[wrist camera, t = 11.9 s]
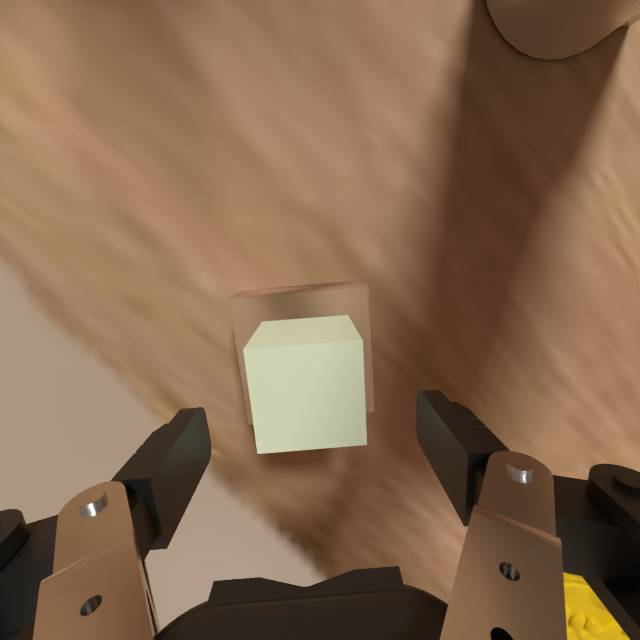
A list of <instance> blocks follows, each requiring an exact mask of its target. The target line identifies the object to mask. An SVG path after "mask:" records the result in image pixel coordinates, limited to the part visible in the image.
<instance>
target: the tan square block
mask: <svg viewBox="0 0 640 640" xmlns="http://www.w3.org/2000/svg"><path fill="white" fill-rule="evenodd" d="M228 301H229V307H230V313H231V320H232V326H233V332H234V338H235V344H236V350H237V357H238V363H239V369H240V375H241V381H242V387H243V394H244V400H245V406H246V412H247V418H248V424H249V425H252V424H253V418H252V411H251V403H250V396H249V389H248V382H247V374H246V367H245V360H244V353H243V349H244V348H245V346H246V345H247V343H248V342H249V340H250V339H251V337H252V336H253V334H254V333H255V331H256V330H257V328H258V327H259V325H260V324H261V322H263V321H276V320H289V319H302V318H315V317H328V316H341V315H348V316H349V318H350V319H351V321H352V323H353V324H354V326H355V328H356V329H357V331H358V333H359V335H360V336H361V338H362V340H363V356H364V381H365V406H366V413H373V412H375V406H374V387H373V367H372V348H371V328H370V309H369V289H368V286H367V285H365V284H363V283H362V282H360V281H358V280H355V281H345V282H334V283H323V284H312V285H301V286H291V287H280V288H269V289H258V290H248V291H242V292H240V293H238V294H237V295H235V296H233V297H232V298H230V299H228Z"/></svg>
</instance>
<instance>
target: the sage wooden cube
mask: <svg viewBox="0 0 640 640" xmlns="http://www.w3.org/2000/svg"><path fill="white" fill-rule="evenodd" d="M243 353H244V360H245V367H246V374H247V382H248V389H249V396H250V403H251V411H252V418H253V425H254V432H255V439H256V447H257V454H264V453H276V452H288V451H300V450H312V449H324V448H335V447H347V446H359V445H367V431H366V406H365V381H364V356H363V340H362V338H361V336H360V335H359V333H358V331H357V329H356V328H355V326H354V324H353V323H352V321H351V319H350V318H349V316H348V315H341V316H328V317H315V318H302V319H289V320H276V321H263V322H261V324H260V325H259V327H258V328H257V330H256V331H255V333H254V334H253V336H252V337H251V339H250V340H249V342H248V343H247V345H246V346H245V348H244V349H243Z"/></svg>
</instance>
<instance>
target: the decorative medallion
mask: <svg viewBox="0 0 640 640" xmlns="http://www.w3.org/2000/svg"><path fill="white" fill-rule="evenodd" d="M563 578H564V594H565V610H566V627H567V640H630V639H629V637H628V636H627V635H626V634H625V632H624V631H623V630H622V628H621V627H620V626H619V624H618V623H617V622H616V620H615V619H614V618H613V617H612V615H611V614H610V613H609V611H608V610H607V609H606V607H605V606H604V605H603V603H602V602H601V601H600V599H599V598H598V597H597V596H596V594H595V593H594V592H593V590H592V589H591V588H590V586H589V585H588V584H587V582H586V581H585V580H584V578H583V577H582V576H578V575H573V574H569V573H565V572H563Z"/></svg>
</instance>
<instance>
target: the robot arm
mask: <svg viewBox="0 0 640 640" xmlns="http://www.w3.org/2000/svg"><path fill="white" fill-rule="evenodd" d="M486 3H487V7H488V10H489V12H490V15H491V17H492V19H493V22H494V24H495V26H496V27H497V29H498V30H499V31H500V33H501V34H502V36H503V37H504V38H505V40H507V41H508V42H509V43H510V44H511V45H512V46H514V47H515V48H516V49H517V50H519V51H521V52H523V53H525V54H527V55H529V56H531V57H536V58H541V59H546V60H550V59H563V58H567V57H570V56H573V55H576V54H579V53H581V52H583V51H584V50H586V49H588V48H590V47H591V46H593V45H595V44H596V43H598V42H599V41H600V40H602V39H603V38H604V37H606V36H607V35H609V34H610V33H611V32H613V31H614V30H615V29H617V28H618V27H620V26H630V25H632V24H634V23H635V22H637V21H638V20H639V19H640V0H486ZM417 436H418V440H419V444H420V446H421V448H422V450H423V452H424V453H425V455H426V457H427V459H428V461H429V463H430V464H431V466H432V468H433V470H434V472H435V473H436V475H437V477H438V479H439V481H440V483H441V484H442V486H443V488H444V490H445V492H446V494H447V495H448V497H449V499H450V501H451V503H452V505H453V506H454V508H455V510H456V512H457V514H458V515H459V517H460V519H461V521H462V523H463V525H464V526H468V529H467V533H466V537H465V541H464V545H463V549H462V553H461V557H460V561H459V565H458V569H457V573H456V577H455V581H454V584H453V588H452V592H451V596H450V600H449V604H447V603H445V602H444V601H442V600H441V599H439V598H437V597H436V596H434V595H432V594H430V593H428V592H426V591H424V590H421V589H418V588H415V587H412V586H409V585H404V584H403V581H402V577H401V573H400V569H399V566H395V567H382V568H370V569H357V570H352V571H349V572H346V573H344V574H341V575H338V576H336V577H333V578H330V579H328V580H325V581H322V582H320V583H317V584H314V585H312V586H308V587H301V586H296V585H292V584H287V583H283V582H278V581H274V580H269V579H264V578H260V577H258V578H246V579H233V580H221V581H214V582H213V586H212V589H211V592H210V596H209V599H208V601H206V602H204V603H202V604H199V605H197V606H195V607H193V608H192V609H190V610H188V611H187V612H185V613H183V614H182V615H180V616H179V617H177V618H176V619H175V620H173V621H172V622H171V623H169V624H168V625H167V626H166V627H164V628H163V629H162V630H161V631H160V627H159V623H158V618H157V613H156V608H155V604H154V600H153V595H152V591H151V586H150V581H149V577H148V572H147V567H146V564H145V558H146V556H147V554H148V553H149V551H150V550H156V549H167V547H168V545H169V543H170V541H171V539H172V537H173V535H174V533H175V531H176V529H177V527H178V525H179V523H180V521H181V518H182V516H183V514H184V512H185V510H186V508H187V506H188V504H189V502H190V500H191V498H192V496H193V494H194V492H195V490H196V488H197V485H198V484H199V482H200V480H201V477H202V475H203V473H204V471H205V469H206V467H207V465H208V463H209V461H210V457H211V440H210V435H209V429H208V424H207V418H206V413H205V410H204V409H203V408H202V407H199V408H186V409H181V410H179V412H178V413H177V414H176V415H175V416H174V418H173V419H172V420H171V421H170V422H169V423H168V424H164V425H163V426H162V427H160V428H159V429H157V430H156V431H154V432H153V433H152V434H151V435H150V436H149V437H148V438H147V440H146V441H145V442H144V444H143V445H141V446H140V448H139V449H138V450H137V451H136V454H133V456H132V457H131V458H130V459H129V460H128V461H127V462H126V464H125V465H124V466H123V467H122V468H121V469H120V471H119V472H118V473H117V474H116V475H115V476H114V477H113V479H112V480H111V481H110V482H104V483H101V484H98V485H95V486H92V487H90V488H88V489H86V490H84V491H83V492H81V493H79V494H78V495H76V496H75V497H74V498H72V499H71V500H70V501H69V502H68V503H67V504H66V505H65V506H64V507H63V508H62V510H61V511H60V513H59V515H56V516H52V517H49V518H46V519H43V520H39V521H36V522H32V523H29V524H26V522H25V520H24V517H23V514H22V512H21V511H20V510H17V509H9V510H3V511H0V640H567V627H566V610H565V594H564V578H563V572H565V573H569V574H573V575H578V576H582V577H583V578H584V580H585V581H586V582H587V584H588V585H589V586H590V588H591V589H592V590H593V592H594V593H595V594H596V596H597V597H598V598H599V599H600V601H601V602H602V603H603V605H604V606H605V607H606V609H607V610H608V611H609V613H610V614H611V615H612V617H613V618H614V619H615V620H616V622H617V623H618V624H619V626H620V627H621V628H622V630H623V631H624V632H625V634H626V635H627V636H628V637H629V639H630V640H640V472H638V471H635V470H632V469H629V468H626V467H623V466H618V465H613V464H598V465H594V466H593V467H591V469H590V471H589V477H588V480H582V479H575V478H569V477H562V476H556V475H552V473H551V472H550V470H549V469H548V468H547V467H546V466H545V465H544V464H542V463H541V462H540V461H538V460H536V459H534V458H533V457H530V456H528V455H526V454H523V453H519V452H514V451H510V450H509V449H508V448H507V447H506V446H505V445H504V444H503V443H502V442H501V441H500V440H499V439H498V438H497V437H496V436H495V435H494V434H493V433H492V432H491V431H490V430H489V429H488V428H487V427H485V425H484V424H483V423H482V422H481V421H480V420H478V418H477V417H476V416H475V415H474V414H473V413H472V412H471V411H470V409H468V408H466V407H464V406H463V405H461V404H459V403H457V402H450V401H449V400H448V399H447V397H446V396H445V395H444V394H443V393H442V392H441V391H440V390H428V391H418V393H417Z"/></svg>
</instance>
